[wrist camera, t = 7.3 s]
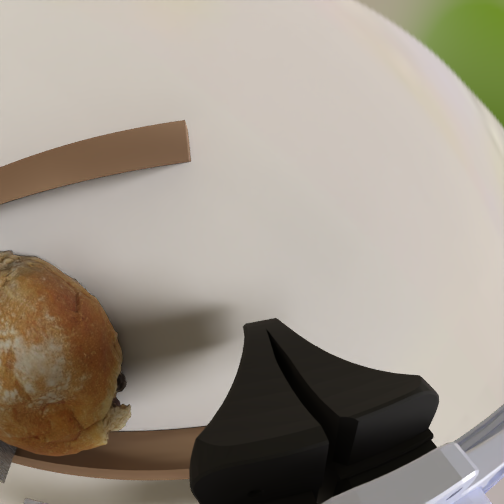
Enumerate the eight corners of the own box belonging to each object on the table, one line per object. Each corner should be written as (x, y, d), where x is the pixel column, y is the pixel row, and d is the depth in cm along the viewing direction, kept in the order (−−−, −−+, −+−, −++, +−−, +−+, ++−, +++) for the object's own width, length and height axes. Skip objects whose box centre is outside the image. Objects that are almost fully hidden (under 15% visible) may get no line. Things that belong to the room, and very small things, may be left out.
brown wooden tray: (236, 433, 16) (255, 516, 10) (-3, 428, 13) (-26, 481, 7) (187, 130, 10) (178, 98, 5) (-94, 222, 8) (-152, 250, 2)
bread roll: (94, 224, 14) (-18, 184, 6) (185, 400, 13) (121, 497, 5) (-2, 302, 14) (-92, 306, 6) (67, 443, 13) (-7, 498, 5)
